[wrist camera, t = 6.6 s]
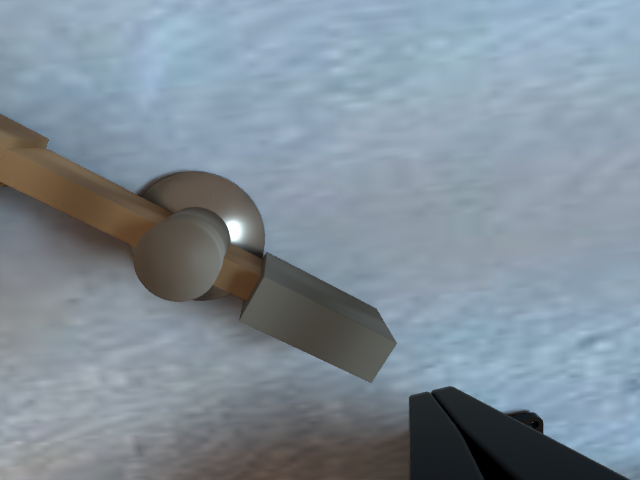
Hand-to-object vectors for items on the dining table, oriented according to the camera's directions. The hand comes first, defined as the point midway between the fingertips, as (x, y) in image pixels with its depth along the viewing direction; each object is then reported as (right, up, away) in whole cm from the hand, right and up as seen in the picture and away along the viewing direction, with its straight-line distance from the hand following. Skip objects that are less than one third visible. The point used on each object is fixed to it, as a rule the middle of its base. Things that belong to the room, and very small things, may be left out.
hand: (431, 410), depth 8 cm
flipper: (-9, +4, +10) cm, 14 cm away
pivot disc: (-8, +3, +11) cm, 14 cm away
